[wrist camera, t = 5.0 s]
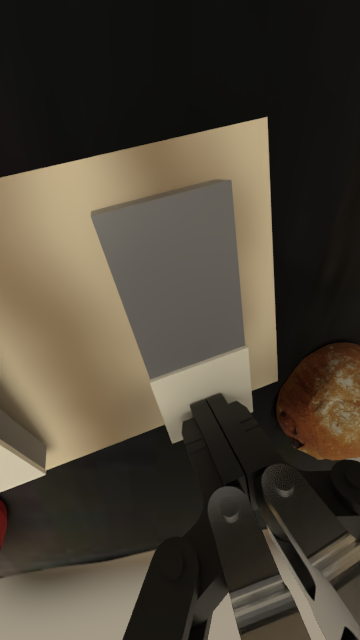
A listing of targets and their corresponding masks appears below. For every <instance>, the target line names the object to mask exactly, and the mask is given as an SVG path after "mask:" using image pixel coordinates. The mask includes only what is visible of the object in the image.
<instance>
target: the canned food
mask: <svg viewBox="0 0 360 640" xmlns="http://www.w3.org/2000/svg"><path fill="white" fill-rule="evenodd" d="M6 528H7V510H6V507H5V505H4V503H3V502H2V501H1V500H0V550H1V547H2V543H3V539H4V536H5V532H6Z"/></svg>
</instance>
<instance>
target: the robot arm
mask: <svg viewBox="0 0 360 640" xmlns="http://www.w3.org/2000/svg"><path fill="white" fill-rule="evenodd" d="M190 409H191V413H192V417H193V418H191V419H188V420H186V421H183V423H182V437H183V440H184V443H185V446H186V449H187V452H188V455H189V458H190V461H191V464H192V467H193V470H194V473H195V476H196V478H197V481H198V484H199V487H200V490H201V493H202V496H203V500H204V501H203V510H202V513H201V516H200V518H199V520H198V521H197V523H196V524H195V525H194V526H193V527H192V528H191V529H190V530H189V531H188V532H187V533H186V534H185V535H184V536H183V537H171V538H168V539H167V540H165V541H164V542H162V543H161V544H160V545H159V547H158V548H157V550H156V551H155V553H154V555H153V558H152V560H151V563H150V566H149V569H148V572H147V574H146V577H145V580H144V582H143V585H142V588H141V591H140V593H139V596H138V599H137V602H136V604H135V607H134V610H133V612H132V615H131V618H130V621H129V623H128V626H127V629H126V632H125V634H124V637H123V640H208V634H209V628H210V624H211V618H212V613H213V611H214V610H215V608H216V607H217V606H218V605H219V603H220V602H221V601H222V600H223V598H224V597H225V596H226V595H227V593H228V592H229V594H230V598H231V602H232V607H233V611H234V615H235V619H236V623H237V626H238V630H239V634H240V637H241V640H311V638H310V636H309V634H308V631H307V629H306V627H305V624H304V622H303V620H302V617H301V615H300V612H299V610H298V608H297V606H296V603H295V601H294V599H293V597H292V595H291V593H290V591H289V589H288V588H287V586H286V585H285V584H284V582H283V580H282V578H281V575H280V573H279V571H278V568H277V566H276V563H275V561H274V559H273V556H272V554H271V551H270V549H269V547H268V544H267V542H266V539H265V537H264V535H263V532H262V530H261V527H260V525H259V523H258V520H257V518H256V515H255V513H254V511H255V510H257V509H260V511H261V513H262V515H263V517H264V519H265V521H266V526H267V530H268V532H269V534H270V536H271V538H272V539H273V541H274V543H275V545H276V547H277V548H278V550H279V552H280V553H281V555H282V557H283V558H284V560H285V562H286V564H287V565H288V567H289V569H290V571H291V572H292V574H293V576H294V578H295V579H296V581H297V583H298V584H299V586H300V588H301V590H302V591H303V593H304V595H305V597H306V598H307V600H308V602H309V604H310V606H311V608H312V611H313V613H314V616H315V618H316V621H317V623H318V625H319V627H320V629H321V631H322V633H323V635H324V636H325V638H326V640H360V462H358V461H354V460H341V461H339V462H337V463H336V464H335V465H334V466H333V467H332V470H331V471H312V472H310V471H302V470H299V469H296V468H294V467H292V466H291V465H289V464H288V463H287V462H286V461H285V460H284V459H283V458H282V457H281V455H280V454H279V452H278V451H277V450H276V448H275V447H274V445H273V444H272V443H271V441H270V440H269V438H268V437H267V435H266V434H265V433H264V431H263V430H262V428H261V427H260V426H259V424H258V423H257V421H256V420H255V419H254V417H253V416H252V414H251V413H250V411H249V410H248V408H247V407H246V406H244V405H243V404H241V403H239V402H238V401H234V402H231V403H229V404H228V403H227V401H226V400H225V398H224V397H223V395H222V394H221V393H220V394H217V395H215V396H212V397H210V398H207V399H206V400H202V401H199V402H197V403H194V404H192V405H190Z"/></svg>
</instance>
